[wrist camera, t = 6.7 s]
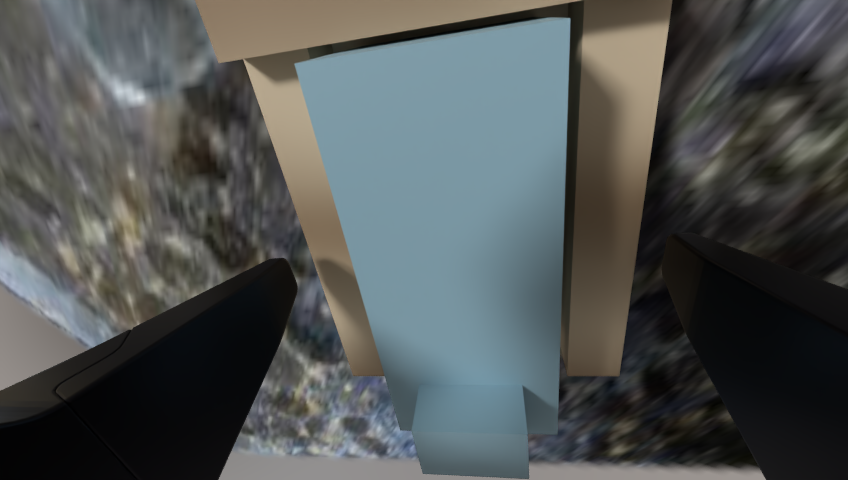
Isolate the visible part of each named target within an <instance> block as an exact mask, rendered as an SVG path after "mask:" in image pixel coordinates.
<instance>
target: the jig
mask: <svg viewBox="0 0 848 480" xmlns="http://www.w3.org/2000/svg"><path fill="white" fill-rule="evenodd" d="M195 1H196V4H197V6H198V9H199V12H200V14H201V17H202V20H203V22H204V25H205V28H206V30H207V33H208V36H209V38H210V41H211V44H212V46H213V49H214V52H215V54H216V57H217V59H218V62H219V63H223V62H228V61H234V60H240V59H244V62H245V65H246V68H247V71H248V74H249V77H250V80H251V82H252V85H253V88H254V91H255V94H256V97H257V100H258V103H259V106H260V108H261V111H262V114H263V117H264V120H265V123H266V126H267V129H268V131H269V134H270V137H271V140H272V143H273V146H274V149H275V152H276V154H277V157H278V160H279V163H280V166H281V169H282V172H283V175H284V177H285V180H286V183H287V186H288V189H289V192H290V195H291V198H292V200H293V203H294V206H295V209H296V212H297V215H298V218H299V221H300V224H301V226H302V229H303V232H304V235H305V238H306V241H307V244H308V247H309V249H310V252H311V255H312V258H313V261H314V264H315V267H316V270H317V272H318V275H319V278H320V281H321V284H322V287H323V290H324V293H325V295H326V298H327V301H328V304H329V307H330V310H331V313H332V316H333V318H334V321H335V324H336V327H337V330H338V333H339V336H340V339H341V341H342V344H343V347H344V350H345V353H346V356H347V359H348V362H349V365H350V367H351V370H352V373H353V376H385V375H384V372H383V368H382V365H381V361H380V358H379V354H378V351H377V347H376V344H375V341H374V337H373V334H372V330H371V327H370V323H369V320H368V316H367V313H366V309H365V306H364V303H363V299H362V296H361V292H360V289H359V285H358V282H357V278H356V275H355V272H354V268H353V265H352V261H351V258H350V254H349V251H348V247H347V244H346V240H345V237H344V234H343V230H342V227H341V223H340V220H339V216H338V213H337V209H336V206H335V203H334V199H333V196H332V192H331V189H330V185H329V182H328V178H327V175H326V171H325V168H324V165H323V161H322V158H321V154H320V151H319V147H318V144H317V140H316V137H315V134H314V130H313V127H312V123H311V120H310V116H309V113H308V109H307V106H306V102H305V99H304V96H303V92H302V89H301V85H300V82H299V78H298V75H297V71H296V68H295V63H299V62H303V61H307V60H310V59H314V58H318V57H322V56H326V55H330V54H333V53H337V52H341V51H345V50H349V49H353V48H357V47H360V46H365V45H370V44H376V43H382V42H388V41H394V40H400V39H406V38H412V37H418V36H424V35H430V34H436V33H442V32H447V31H453V30H459V29H465V28H471V27H477V26H483V25H489V24H495V23H501V22H507V21H513V20H518V19H524V18H530V17H556V18H570V50H569V82H568V114H567V146H566V178H565V210H564V242H563V274H562V306H561V338H560V348H561V352H562V356H563V361H564V365H565V369H566V373H567V376H619V374H620V367H621V360H622V353H623V346H624V339H625V332H626V325H627V318H628V311H629V304H630V297H631V290H632V282H633V275H634V268H635V261H636V254H637V247H638V240H639V233H640V226H641V219H642V212H643V205H644V198H645V191H646V183H647V176H648V169H649V162H650V155H651V148H652V141H653V134H654V127H655V120H656V113H657V106H658V99H659V92H660V84H661V77H662V70H663V63H664V56H665V49H666V42H667V35H668V28H669V21H670V14H671V7H672V0H195Z"/></svg>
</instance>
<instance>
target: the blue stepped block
mask: <svg viewBox="0 0 848 480" xmlns="http://www.w3.org/2000/svg"><path fill="white" fill-rule="evenodd" d="M569 50H570V18H556V17H530V18H524V19H518V20H513V21H507V22H501V23H495V24H489V25H483V26H477V27H471V28H465V29H459V30H453V31H447V32H442V33H436V34H430V35H424V36H418V37H412V38H406V39H400V40H394V41H388V42H382V43H376V44H370V45H365V46H360V47H357V48H353V49H349V50H345V51H341V52H337V53H333V54H330V55H326V56H322V57H318V58H314V59H310V60H307V61H303V62H299V63H295V68H296V71H297V75H298V78H299V82H300V85H301V89H302V92H303V96H304V99H305V102H306V106H307V109H308V113H309V116H310V120H311V123H312V127H313V130H314V134H315V137H316V140H317V144H318V147H319V151H320V154H321V158H322V161H323V165H324V168H325V171H326V175H327V178H328V182H329V185H330V189H331V192H332V196H333V199H334V203H335V206H336V209H337V213H338V216H339V220H340V223H341V227H342V230H343V234H344V237H345V240H346V244H347V247H348V251H349V254H350V258H351V261H352V265H353V268H354V272H355V275H356V278H357V282H358V285H359V289H360V292H361V296H362V299H363V303H364V306H365V309H366V313H367V316H368V320H369V323H370V327H371V330H372V334H373V337H374V341H375V344H376V347H377V351H378V354H379V358H380V361H381V365H382V368H383V372H384V375H385V378H386V382H387V385H388V389H389V392H390V396H391V399H392V403H393V406H394V410H395V413H396V416H397V420H398V423H399V427H400V430H407V431H412V435H413V439H414V442H415V446H416V450H417V454H418V457H419V461H420V465H421V469H422V472H423V474H439V475H440V474H441V475H460V476H480V477H500V478H520V479H529V460H528V434H550V435H557V434H558V402H559V370H560V338H561V306H562V274H563V242H564V210H565V178H566V146H567V114H568V82H569Z"/></svg>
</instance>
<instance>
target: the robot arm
mask: <svg viewBox="0 0 848 480" xmlns="http://www.w3.org/2000/svg"><path fill="white" fill-rule="evenodd" d="M662 275H663V278H664V280H665V283H666V285H667V288H668V291H669V293H670V296H671V298H672V301H673V303H674V306H675V308H676V311H677V313H678V316H679V318H680V321H681V323H682V326H683V328H684V330H685V333H686V335H687V337H688V339H689V341H690V343H691V345H692V346H693V348H694V350H695V352H696V354H697V355H698V357H699V359H700V361H701V363H702V365H703V366H704V368H705V370H706V372H707V374H708V375H709V377H710V379H711V381H712V383H713V384H714V386H715V388H716V390H717V392H718V393H719V395H720V397H721V399H722V401H723V403H724V404H725V406H726V408H727V410H728V412H729V413H730V415H731V417H732V419H733V421H734V422H735V424H736V426H737V428H738V430H739V431H740V433H741V435H742V437H743V439H744V441H745V442H746V444H747V446H748V448H749V450H750V451H751V453H752V455H753V457H754V459H755V460H756V462H757V464H758V466H759V468H760V470H761V471H762V473H763V475H764V477H765V478H766V480H848V289H845V288H842V287H840V286H837V285H834V284H831V283H829V282H826V281H823V280H820V279H818V278H815V277H812V276H809V275H807V274H804V273H801V272H798V271H796V270H793V269H790V268H787V267H785V266H782V265H779V264H777V263H774V262H771V261H768V260H766V259H763V258H760V257H757V256H755V255H752V254H749V253H746V252H744V251H741V250H738V249H735V248H733V247H730V246H727V245H724V244H722V243H719V242H716V241H713V240H711V239H708V238H705V237H702V236H700V235H697V234H694V233H674V234H671V235H669V236H668V238H667V241H666V246H665V252H664V257H663V263H662ZM297 290H298V287H297V282H296V280H295V277H294V275H293V272H292V269H291V267H290V264H289V262H288V261H287V260H286V259H284V258H275V259H269V260H267V261H265V262H263V263H261V264H259V265H257V266H255V267H253V268H251V269H249V270H247V271H245V272H243V273H241V274H239V275H237V276H235V277H233V278H231V279H229V280H227V281H225V282H223V283H221V284H219V285H217V286H215V287H213V288H211V289H209V290H207V291H205V292H203V293H201V294H199V295H197V296H195V297H193V298H191V299H189V300H187V301H185V302H183V303H181V304H179V305H177V306H175V307H173V308H171V309H169V310H167V311H165V312H163V313H161V314H159V315H157V316H155V317H153V318H151V319H149V320H147V321H145V322H143V323H141V324H139V325H137V326H136V327H134V328H133V329H132V330H127V331H125V332H123V333H121V334H119V335H117V336H116V337H114V338H112V339H109V340H107V341H105V342H103V343H101V344H99V345H97V346H95V347H93V348H91V349H89V350H87V351H85V352H83V353H81V354H79V355H77V356H75V357H72V358H70V359H68V360H66V361H64V362H62V363H60V364H57V365H55V366H53V367H51V368H49V369H47V370H44V371H42V372H40V373H38V374H36V375H34V376H31V377H29V378H27V379H25V380H23V381H21V382H18V383H16V384H14V385H12V386H10V387H8V388H5V389H4V390H1V391H0V480H218V479H219V477H220V475H221V473H222V470H223V468H224V466H225V464H226V461H227V459H228V457H229V455H230V453H231V451H232V448H233V446H234V444H235V442H236V440H237V437H238V435H239V433H240V431H241V429H242V426H243V424H244V422H245V420H246V418H247V415H248V413H249V411H250V409H251V407H252V404H253V402H254V400H255V398H256V396H257V393H258V391H259V389H260V387H261V385H262V382H263V380H264V378H265V376H266V374H267V371H268V369H269V367H270V365H271V363H272V360H273V358H274V356H275V354H276V352H277V349H278V347H279V345H280V342H281V340H282V337H283V334H284V331H285V328H286V325H287V322H288V319H289V316H290V313H291V310H292V307H293V304H294V301H295V298H296V295H297Z"/></svg>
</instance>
